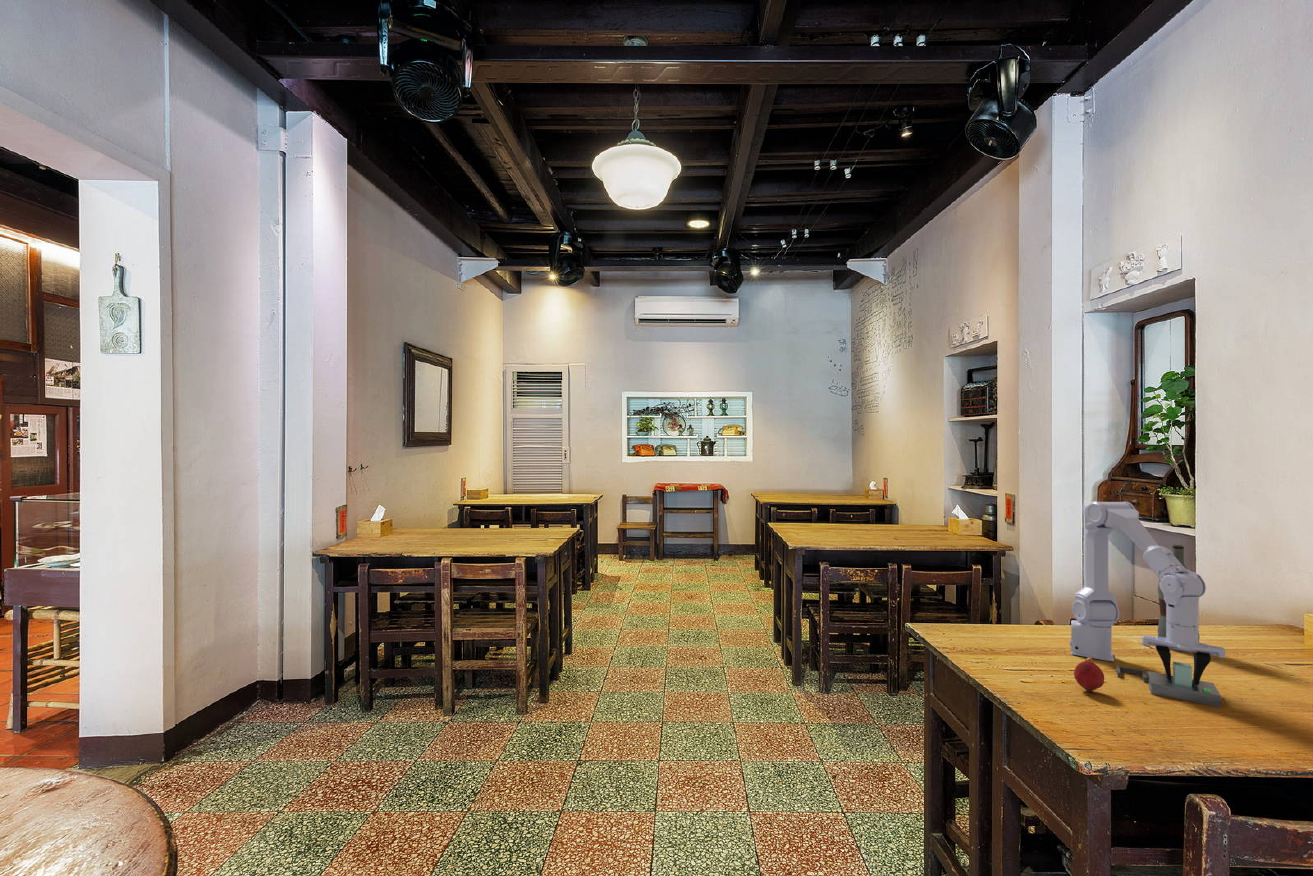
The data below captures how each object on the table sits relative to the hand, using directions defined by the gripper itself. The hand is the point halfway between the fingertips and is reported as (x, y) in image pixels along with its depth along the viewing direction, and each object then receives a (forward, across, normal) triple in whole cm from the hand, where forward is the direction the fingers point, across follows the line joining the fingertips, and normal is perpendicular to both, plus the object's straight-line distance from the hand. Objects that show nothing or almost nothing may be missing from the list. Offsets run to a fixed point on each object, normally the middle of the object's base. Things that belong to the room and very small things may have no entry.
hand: (1182, 681), depth 138 cm
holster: (+3, -9, +6) cm, 12 cm away
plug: (+3, 0, 0) cm, 3 cm away
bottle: (+3, +4, +43) cm, 43 cm away
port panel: (+3, 0, 0) cm, 3 cm away
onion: (+3, -18, -12) cm, 22 cm away
